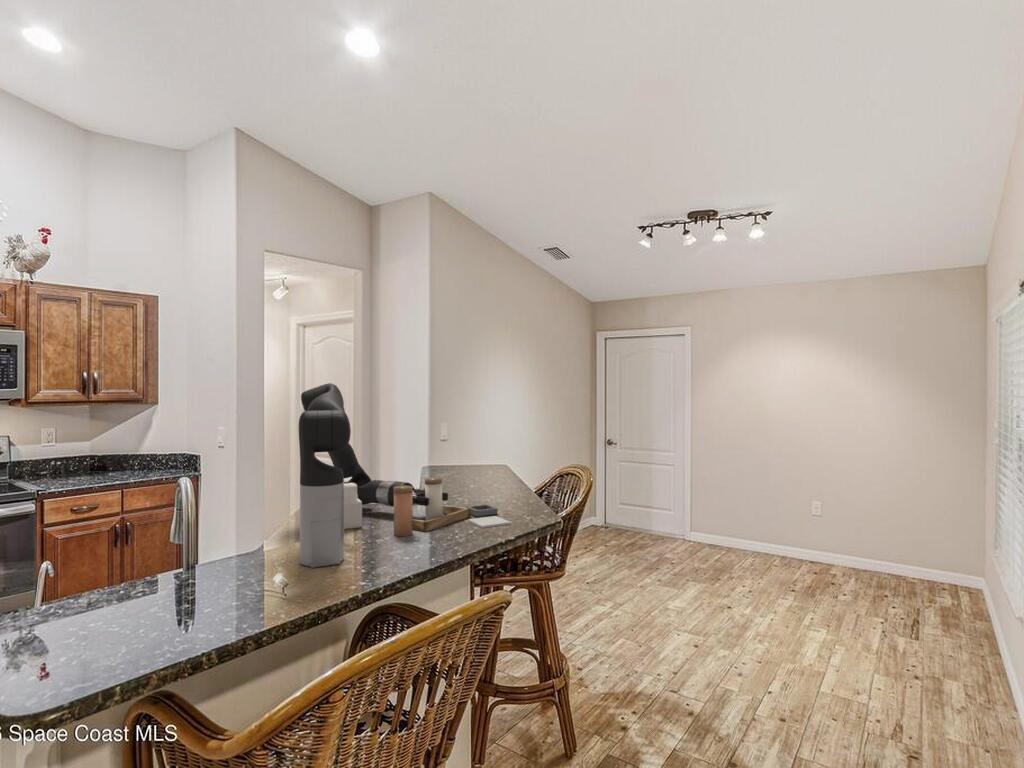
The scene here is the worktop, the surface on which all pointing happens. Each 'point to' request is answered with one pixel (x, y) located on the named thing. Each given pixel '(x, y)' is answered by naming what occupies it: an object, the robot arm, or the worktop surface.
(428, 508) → the spice jar
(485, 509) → the hole dish
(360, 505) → the medicine bottle
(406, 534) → the terracotta jar
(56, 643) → the worktop surface
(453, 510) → the wooden tray
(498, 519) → the white square tile
